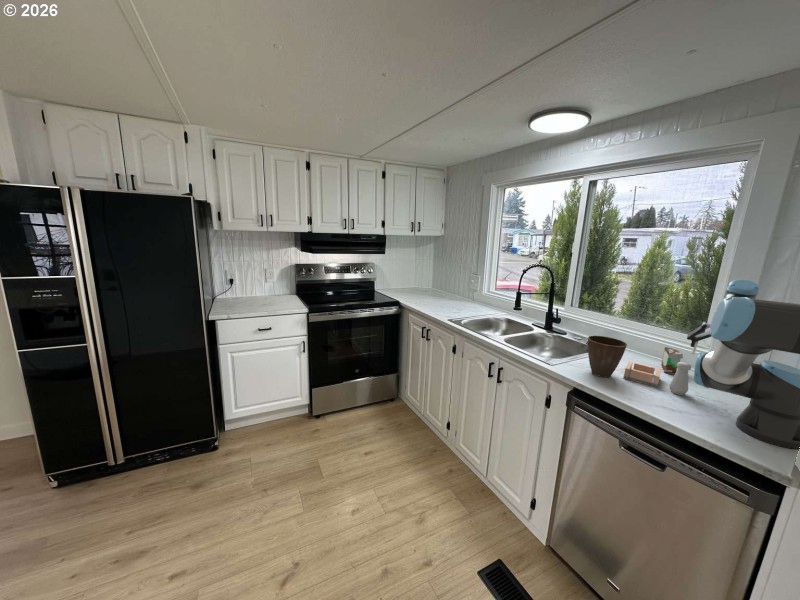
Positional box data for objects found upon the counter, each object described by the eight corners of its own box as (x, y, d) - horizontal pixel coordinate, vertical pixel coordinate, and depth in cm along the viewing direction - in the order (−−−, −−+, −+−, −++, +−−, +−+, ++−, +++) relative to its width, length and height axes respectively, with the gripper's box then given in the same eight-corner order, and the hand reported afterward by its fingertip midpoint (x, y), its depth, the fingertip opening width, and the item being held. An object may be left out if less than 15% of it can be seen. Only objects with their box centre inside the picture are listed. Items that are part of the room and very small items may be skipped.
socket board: (657, 387, 135) (659, 376, 134) (623, 378, 142) (625, 368, 142) (659, 378, 144) (661, 368, 143) (627, 370, 151) (629, 361, 150)
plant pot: (575, 366, 153) (580, 334, 150) (605, 367, 154) (611, 335, 150) (595, 380, 138) (601, 345, 135) (628, 381, 139) (635, 346, 136)
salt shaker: (665, 390, 132) (672, 361, 129) (672, 388, 134) (679, 359, 132) (682, 397, 127) (690, 366, 124) (689, 394, 129) (697, 364, 127)
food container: (681, 377, 146) (686, 356, 144) (664, 373, 150) (669, 353, 148) (676, 368, 157) (680, 349, 155) (660, 365, 160) (664, 346, 158)
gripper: (781, 320, 113) (760, 361, 124) (688, 304, 129) (677, 342, 141) (781, 333, 109) (759, 375, 120) (685, 315, 125) (674, 353, 137)
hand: (715, 357), depth 130 cm, fingers open, 13 cm apart
